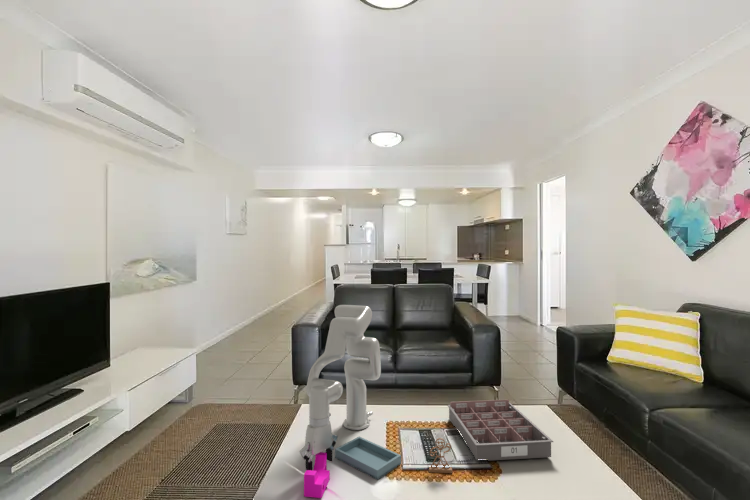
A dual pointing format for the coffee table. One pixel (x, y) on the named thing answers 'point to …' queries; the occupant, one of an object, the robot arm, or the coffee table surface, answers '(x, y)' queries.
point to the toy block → (317, 477)
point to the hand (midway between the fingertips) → (319, 465)
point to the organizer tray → (498, 430)
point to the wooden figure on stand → (437, 469)
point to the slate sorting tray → (368, 457)
